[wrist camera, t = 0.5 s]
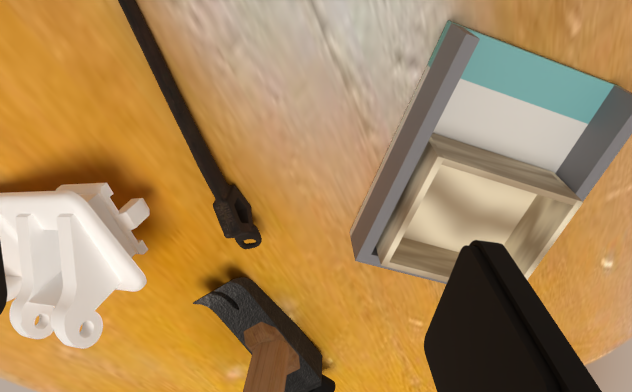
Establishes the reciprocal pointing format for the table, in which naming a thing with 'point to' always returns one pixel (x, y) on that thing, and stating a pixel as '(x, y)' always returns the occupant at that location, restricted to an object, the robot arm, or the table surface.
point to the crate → (473, 210)
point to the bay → (499, 121)
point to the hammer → (268, 340)
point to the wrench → (196, 140)
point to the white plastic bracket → (68, 258)
